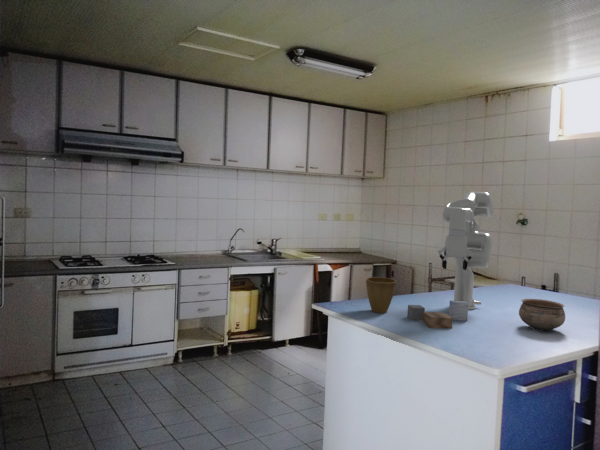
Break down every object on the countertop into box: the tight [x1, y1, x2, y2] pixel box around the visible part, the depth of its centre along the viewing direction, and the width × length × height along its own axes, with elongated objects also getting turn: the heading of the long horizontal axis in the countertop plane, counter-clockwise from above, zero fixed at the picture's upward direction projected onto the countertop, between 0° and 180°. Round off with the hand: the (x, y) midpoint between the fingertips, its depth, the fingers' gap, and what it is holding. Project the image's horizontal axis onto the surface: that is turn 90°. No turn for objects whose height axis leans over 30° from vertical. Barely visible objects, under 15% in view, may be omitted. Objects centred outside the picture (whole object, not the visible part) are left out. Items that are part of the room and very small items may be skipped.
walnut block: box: [422, 311, 454, 330], centre depth 217 cm, size 10×10×5 cm
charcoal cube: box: [406, 304, 426, 322], centre depth 227 cm, size 6×6×6 cm
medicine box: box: [448, 300, 469, 322], centre depth 230 cm, size 8×4×9 cm, turn 84°
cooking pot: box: [518, 298, 566, 332], centre depth 218 cm, size 25×19×12 cm
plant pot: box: [365, 276, 397, 314], centre depth 238 cm, size 15×15×16 cm
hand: (454, 269), depth 230 cm, fingers open, 9 cm apart
